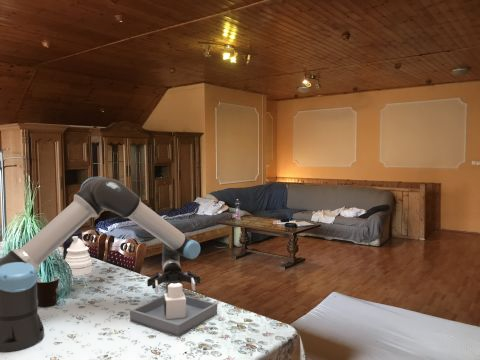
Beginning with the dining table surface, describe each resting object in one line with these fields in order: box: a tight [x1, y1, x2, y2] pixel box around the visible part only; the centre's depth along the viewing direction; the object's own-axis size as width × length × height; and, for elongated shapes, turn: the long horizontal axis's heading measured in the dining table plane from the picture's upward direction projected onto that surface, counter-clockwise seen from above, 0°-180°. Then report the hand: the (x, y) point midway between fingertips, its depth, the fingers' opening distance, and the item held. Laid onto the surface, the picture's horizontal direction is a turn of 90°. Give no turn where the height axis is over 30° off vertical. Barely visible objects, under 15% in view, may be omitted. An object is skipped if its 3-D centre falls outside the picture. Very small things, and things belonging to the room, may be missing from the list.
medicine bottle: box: [163, 281, 186, 320], centre depth 143 cm, size 7×7×12 cm
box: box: [129, 294, 218, 338], centre depth 143 cm, size 22×22×4 cm
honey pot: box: [65, 236, 93, 277], centre depth 194 cm, size 13×13×18 cm
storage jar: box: [62, 230, 83, 259], centre depth 217 cm, size 10×10×15 cm
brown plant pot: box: [37, 275, 60, 308], centre depth 155 cm, size 12×9×10 cm
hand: (175, 288), depth 146 cm, fingers open, 13 cm apart
